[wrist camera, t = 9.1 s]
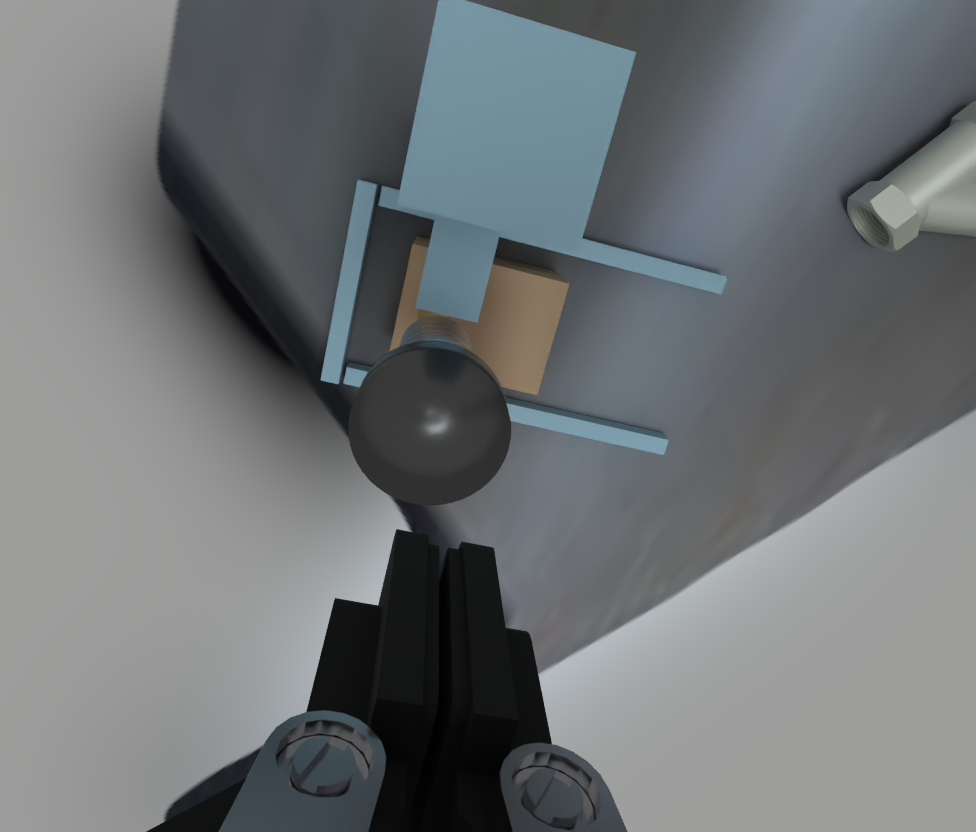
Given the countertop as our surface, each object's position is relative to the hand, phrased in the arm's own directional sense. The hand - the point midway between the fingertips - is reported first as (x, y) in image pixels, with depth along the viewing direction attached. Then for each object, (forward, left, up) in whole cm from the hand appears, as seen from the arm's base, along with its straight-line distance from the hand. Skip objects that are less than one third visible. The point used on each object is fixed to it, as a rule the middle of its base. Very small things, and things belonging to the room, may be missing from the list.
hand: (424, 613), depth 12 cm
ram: (0, 0, -18) cm, 18 cm away
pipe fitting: (-25, -12, -30) cm, 41 cm away
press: (-5, -2, -29) cm, 30 cm away
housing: (-2, 0, -30) cm, 29 cm away
